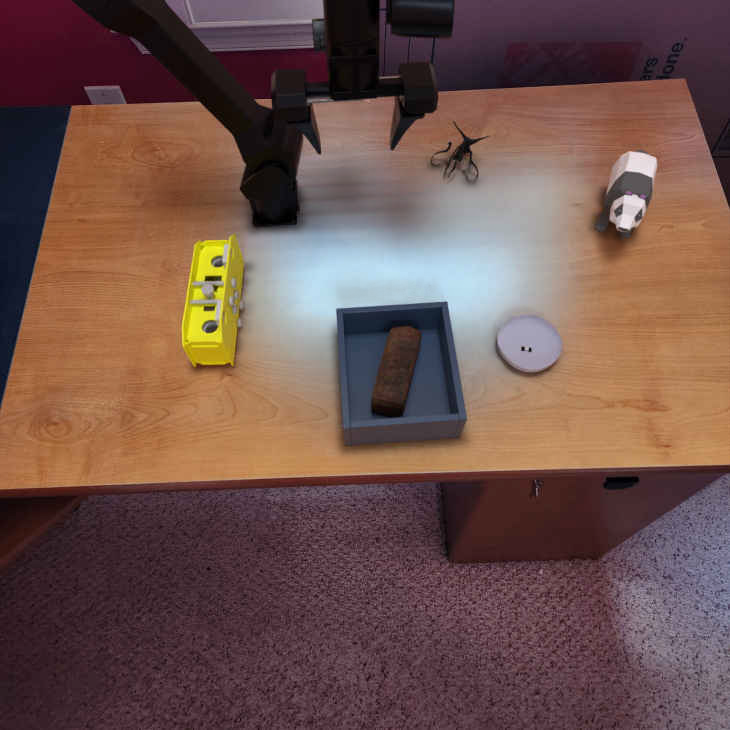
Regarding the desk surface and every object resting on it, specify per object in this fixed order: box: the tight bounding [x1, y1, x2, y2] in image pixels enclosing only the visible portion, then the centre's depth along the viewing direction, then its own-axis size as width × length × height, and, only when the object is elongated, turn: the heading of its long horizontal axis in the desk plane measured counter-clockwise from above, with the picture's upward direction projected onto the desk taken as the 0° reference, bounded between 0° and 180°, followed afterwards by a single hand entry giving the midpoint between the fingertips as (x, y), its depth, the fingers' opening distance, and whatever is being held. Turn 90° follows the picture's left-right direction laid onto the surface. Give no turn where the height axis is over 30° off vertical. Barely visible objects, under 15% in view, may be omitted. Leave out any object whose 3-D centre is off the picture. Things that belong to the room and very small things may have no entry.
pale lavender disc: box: [496, 313, 563, 373], centre depth 73 cm, size 8×8×2 cm
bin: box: [335, 301, 468, 447], centre depth 69 cm, size 14×16×6 cm
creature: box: [430, 120, 490, 183], centre depth 86 cm, size 8×5×8 cm
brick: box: [371, 326, 422, 418], centre depth 69 cm, size 11×4×5 cm, turn 166°
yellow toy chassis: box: [181, 233, 245, 368], centre depth 73 cm, size 16×6×8 cm, turn 1°
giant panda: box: [594, 149, 658, 240], centre depth 79 cm, size 15×6×10 cm, turn 159°
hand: (355, 149), depth 74 cm, fingers open, 9 cm apart
